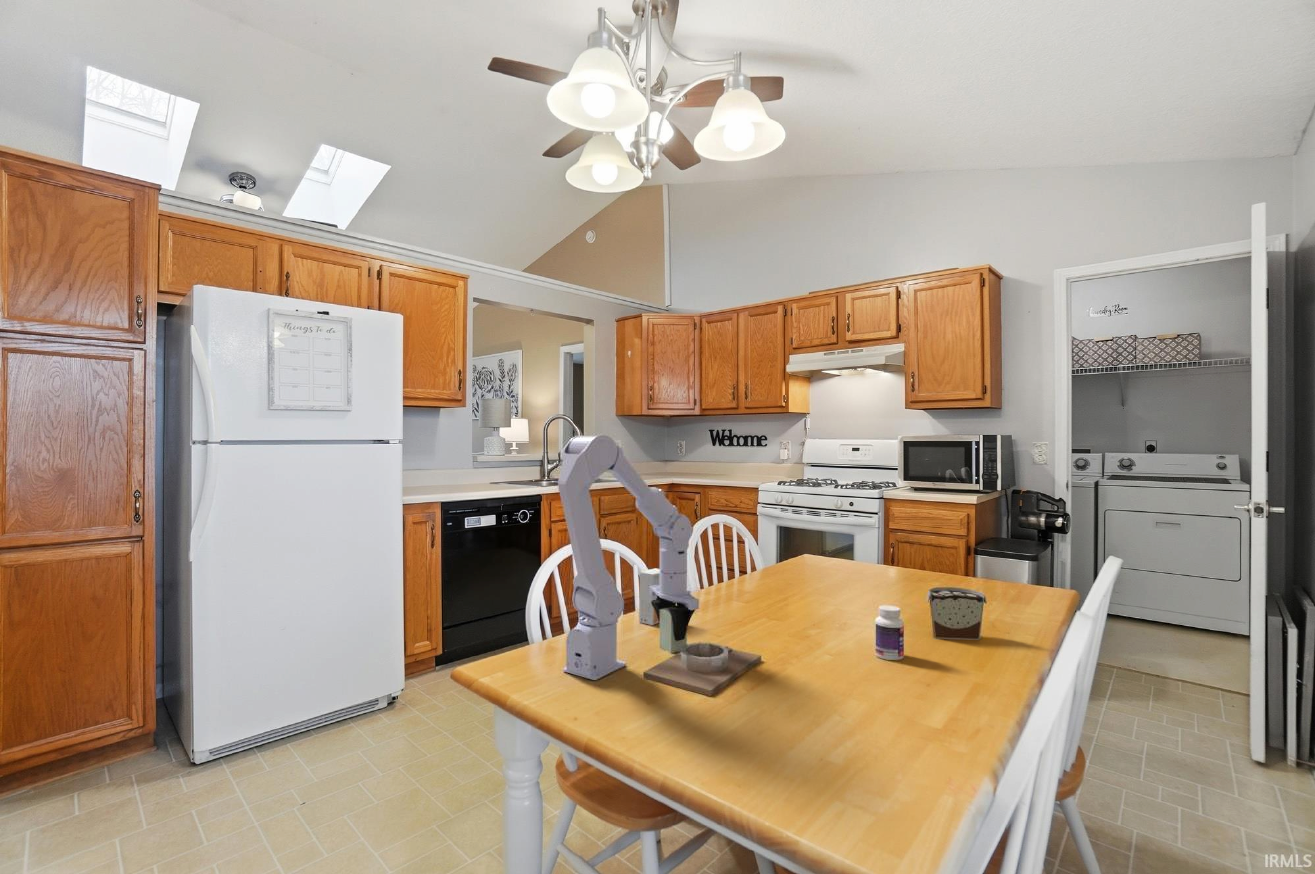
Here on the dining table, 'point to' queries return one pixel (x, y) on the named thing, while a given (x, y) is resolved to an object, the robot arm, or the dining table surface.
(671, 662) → the cup bracket
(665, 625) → the sage peg
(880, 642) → the pill bottle
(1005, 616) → the dining table surface
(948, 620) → the food container
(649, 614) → the skincare box
